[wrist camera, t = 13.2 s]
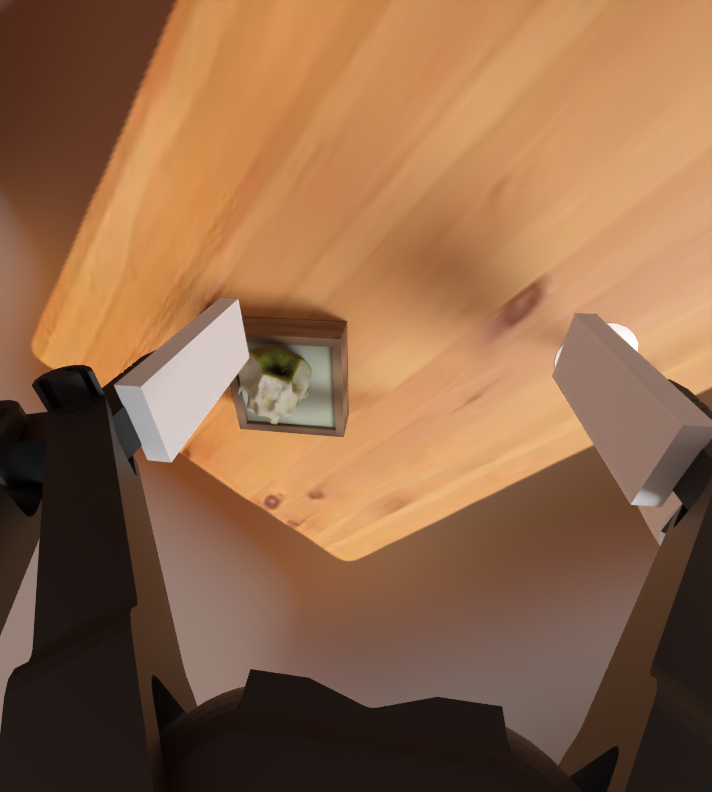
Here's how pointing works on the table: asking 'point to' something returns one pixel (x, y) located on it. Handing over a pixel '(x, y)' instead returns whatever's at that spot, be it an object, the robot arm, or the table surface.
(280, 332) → the stand
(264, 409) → the fruit
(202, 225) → the table surface
